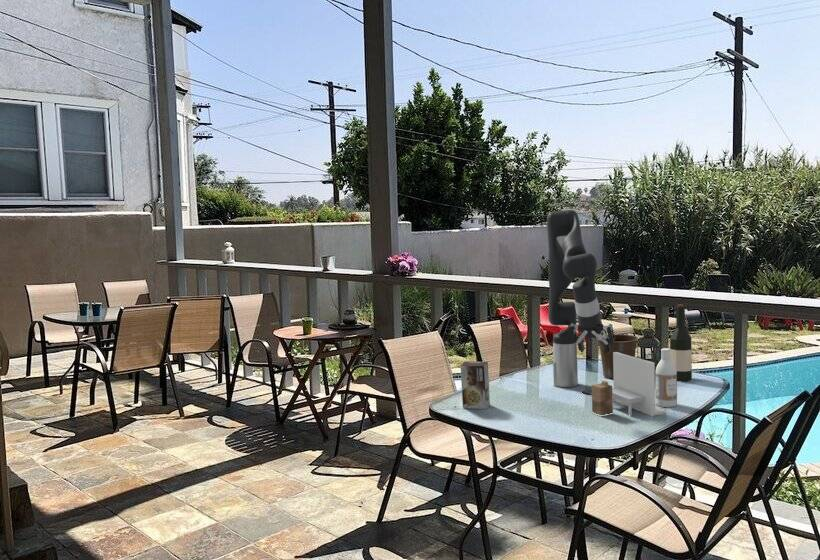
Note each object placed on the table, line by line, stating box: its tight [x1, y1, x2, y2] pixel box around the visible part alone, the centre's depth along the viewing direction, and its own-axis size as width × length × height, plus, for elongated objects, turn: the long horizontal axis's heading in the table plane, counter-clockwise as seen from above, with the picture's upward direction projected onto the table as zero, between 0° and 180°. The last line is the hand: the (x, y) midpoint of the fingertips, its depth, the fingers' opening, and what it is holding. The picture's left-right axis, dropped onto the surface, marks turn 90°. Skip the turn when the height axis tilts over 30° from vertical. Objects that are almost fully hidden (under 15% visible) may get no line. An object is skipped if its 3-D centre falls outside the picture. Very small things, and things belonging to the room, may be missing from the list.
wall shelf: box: [612, 352, 666, 417], centre depth 237 cm, size 12×20×18 cm, turn 20°
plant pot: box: [596, 334, 639, 380], centre depth 280 cm, size 16×16×16 cm
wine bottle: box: [669, 304, 693, 383], centre depth 270 cm, size 8×8×30 cm
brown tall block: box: [591, 380, 614, 415], centre depth 233 cm, size 5×5×11 cm
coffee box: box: [459, 361, 491, 410], centre depth 249 cm, size 9×6×16 cm
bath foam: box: [655, 347, 678, 408], centre depth 238 cm, size 7×7×20 cm
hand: (595, 351), depth 231 cm, fingers open, 8 cm apart
